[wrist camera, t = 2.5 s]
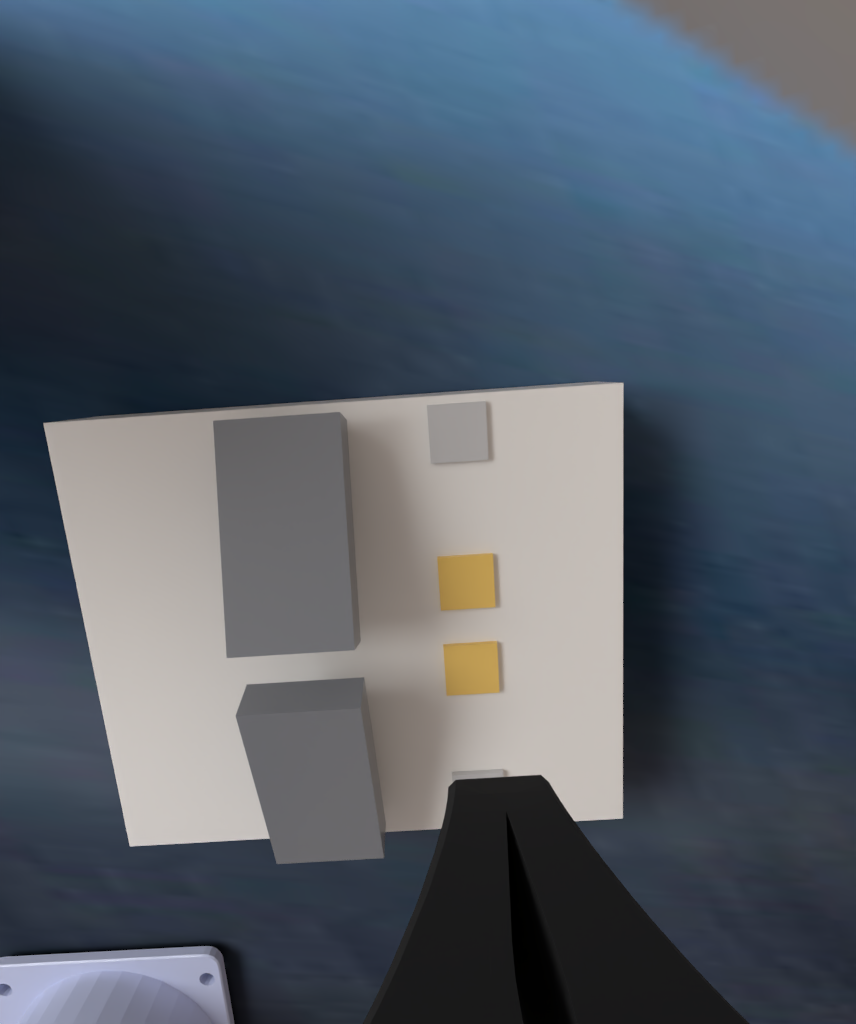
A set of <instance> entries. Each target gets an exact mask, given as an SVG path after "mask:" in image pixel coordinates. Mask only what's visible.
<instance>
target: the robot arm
mask: <svg viewBox="0 0 856 1024" xmlns="http://www.w3.org/2000/svg"><path fill="white" fill-rule="evenodd" d="M208 973H209V974H208ZM522 1021H523V1022H522ZM0 1023H1V1024H235V1023H234V1018H233V1012H232V1006H231V1000H230V994H229V989H228V983H227V977H226V971H225V966H224V960H223V956H222V954H221V952H220V951H219V950H218V949H217V948H215V947H213V946H194V947H176V948H157V949H138V950H119V951H101V952H82V953H63V954H45V955H26V956H7V957H1V958H0ZM363 1024H749V1023H748V1022H747V1021H746V1020H745V1019H744V1018H743V1017H742V1016H741V1015H740V1014H739V1013H738V1012H737V1011H736V1010H735V1009H734V1008H733V1007H732V1006H731V1005H730V1004H729V1003H728V1002H727V1001H726V1000H725V999H724V998H723V997H722V996H721V995H720V994H719V993H718V992H717V991H716V990H715V989H714V988H713V986H712V985H711V984H710V983H709V982H708V981H707V980H706V979H705V978H704V977H703V976H702V975H701V974H700V973H699V972H698V971H697V970H696V969H695V967H694V966H693V965H692V964H691V963H690V962H689V961H688V960H687V959H686V958H685V957H684V956H683V954H682V953H681V952H680V951H679V950H678V949H677V948H676V947H675V945H674V944H673V943H672V942H671V941H670V940H669V939H668V938H667V937H666V935H665V934H664V933H663V932H662V931H661V930H660V929H659V928H658V926H657V925H656V924H655V923H654V922H653V921H652V920H651V918H650V917H649V916H648V915H647V914H646V912H645V911H644V910H643V909H642V908H641V907H640V905H639V904H638V903H637V902H636V901H635V899H634V898H633V897H632V896H631V895H630V893H629V892H628V891H627V890H626V888H625V887H624V886H623V885H622V883H621V882H620V881H619V880H618V878H617V877H616V876H615V875H614V873H613V872H612V871H611V870H610V868H609V867H608V866H607V865H606V863H605V862H604V861H603V860H602V858H601V857H600V856H599V854H598V853H597V852H596V850H595V849H594V848H593V846H592V845H591V844H590V842H589V841H588V840H587V838H586V837H585V835H584V834H583V833H582V831H581V830H580V828H579V827H578V826H577V824H576V823H575V821H574V820H573V819H572V817H571V816H570V814H569V813H568V811H567V810H566V808H565V807H564V805H563V804H562V802H561V801H560V799H559V798H558V796H557V795H556V793H555V791H554V790H553V788H552V786H551V785H550V783H549V782H548V781H547V780H546V779H545V778H544V777H543V776H542V775H528V776H511V777H494V778H476V779H459V780H455V781H454V782H453V783H452V784H451V785H450V786H449V787H448V798H447V804H446V810H445V815H444V820H443V824H442V828H441V832H440V835H439V839H438V842H437V846H436V849H435V853H434V856H433V859H432V862H431V865H430V867H429V870H428V873H427V876H426V879H425V882H424V885H423V888H422V891H421V894H420V896H419V899H418V902H417V904H416V907H415V910H414V912H413V914H412V917H411V919H410V921H409V924H408V926H407V929H406V931H405V933H404V936H403V938H402V940H401V943H400V945H399V948H398V950H397V952H396V955H395V957H394V959H393V962H392V964H391V966H390V969H389V971H388V973H387V975H386V977H385V979H384V981H383V984H382V986H381V988H380V990H379V992H378V994H377V996H376V998H375V1000H374V1002H373V1004H372V1007H371V1009H370V1011H369V1013H368V1015H367V1017H366V1019H365V1020H364V1022H363Z"/></svg>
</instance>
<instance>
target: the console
mask: <svg viewBox="0 0 856 1024" xmlns="http://www.w3.org/2000/svg"><path fill="white" fill-rule="evenodd" d="M332 412H340V413H341V414H342V415H343V416H344V417H345V418H346V419H347V431H348V447H349V463H350V479H351V495H352V511H353V526H354V542H355V558H356V574H357V590H358V606H359V622H360V638H361V642H360V643H359V645H358V646H357V648H356V649H355V650H350V651H334V652H317V653H301V654H285V655H269V656H253V657H237V658H227V655H226V638H225V620H224V603H223V585H222V568H221V550H220V533H219V515H218V498H217V481H216V463H215V446H214V428H213V421H216V420H231V419H245V418H259V417H274V416H288V415H303V414H317V413H332ZM43 424H44V429H45V434H46V439H47V444H48V449H49V454H50V458H51V463H52V468H53V473H54V478H55V483H56V488H57V493H58V498H59V502H60V507H61V512H62V517H63V522H64V527H65V532H66V537H67V542H68V546H69V551H70V556H71V561H72V566H73V571H74V576H75V581H76V586H77V590H78V595H79V600H80V605H81V610H82V615H83V620H84V625H85V630H86V634H87V639H88V644H89V649H90V654H91V659H92V664H93V669H94V674H95V678H96V683H97V688H98V693H99V698H100V703H101V708H102V713H103V718H104V722H105V727H106V732H107V737H108V742H109V747H110V752H111V757H112V762H113V766H114V771H115V776H116V781H117V786H118V791H119V796H120V801H121V806H122V810H123V815H124V820H125V825H126V830H127V835H128V840H129V845H130V846H146V845H164V844H181V843H199V842H217V841H234V840H252V839H270V837H269V834H268V830H267V827H266V823H265V819H264V816H263V812H262V809H261V805H260V802H259V798H258V794H257V791H256V787H255V784H254V780H253V777H252V773H251V770H250V766H249V762H248V759H247V755H246V752H245V748H244V745H243V741H242V737H241V734H240V730H239V727H238V723H237V720H236V713H237V710H238V708H239V705H240V702H241V699H242V696H243V694H244V691H245V688H246V685H247V684H263V683H279V682H296V681H312V680H328V679H344V678H361V677H364V679H365V686H366V692H367V699H368V706H369V713H370V719H371V726H372V733H373V740H374V746H375V753H376V760H377V767H378V774H379V780H380V787H381V794H382V801H383V807H384V814H385V821H386V830H385V832H393V831H411V830H429V829H441V828H442V824H443V820H444V815H445V810H446V804H447V798H448V787H449V786H450V785H451V784H452V783H453V782H454V781H455V780H459V779H476V778H494V777H511V776H528V775H542V776H543V777H544V778H545V779H546V780H547V781H548V782H549V783H550V785H551V786H552V788H553V790H554V791H555V793H556V795H557V796H558V798H559V799H560V801H561V802H562V804H563V805H564V807H565V808H566V810H567V811H568V813H569V814H570V816H571V817H572V819H573V820H574V821H588V820H606V819H623V383H617V382H583V383H569V384H554V385H540V386H526V387H511V388H497V389H483V390H468V391H454V392H440V393H425V394H411V395H397V396H382V397H368V398H354V399H339V400H325V401H311V402H296V403H282V404H268V405H253V406H239V407H224V408H210V409H196V410H181V411H167V412H153V413H138V414H124V415H110V416H97V417H89V418H81V419H73V420H65V421H57V422H49V423H43Z"/></svg>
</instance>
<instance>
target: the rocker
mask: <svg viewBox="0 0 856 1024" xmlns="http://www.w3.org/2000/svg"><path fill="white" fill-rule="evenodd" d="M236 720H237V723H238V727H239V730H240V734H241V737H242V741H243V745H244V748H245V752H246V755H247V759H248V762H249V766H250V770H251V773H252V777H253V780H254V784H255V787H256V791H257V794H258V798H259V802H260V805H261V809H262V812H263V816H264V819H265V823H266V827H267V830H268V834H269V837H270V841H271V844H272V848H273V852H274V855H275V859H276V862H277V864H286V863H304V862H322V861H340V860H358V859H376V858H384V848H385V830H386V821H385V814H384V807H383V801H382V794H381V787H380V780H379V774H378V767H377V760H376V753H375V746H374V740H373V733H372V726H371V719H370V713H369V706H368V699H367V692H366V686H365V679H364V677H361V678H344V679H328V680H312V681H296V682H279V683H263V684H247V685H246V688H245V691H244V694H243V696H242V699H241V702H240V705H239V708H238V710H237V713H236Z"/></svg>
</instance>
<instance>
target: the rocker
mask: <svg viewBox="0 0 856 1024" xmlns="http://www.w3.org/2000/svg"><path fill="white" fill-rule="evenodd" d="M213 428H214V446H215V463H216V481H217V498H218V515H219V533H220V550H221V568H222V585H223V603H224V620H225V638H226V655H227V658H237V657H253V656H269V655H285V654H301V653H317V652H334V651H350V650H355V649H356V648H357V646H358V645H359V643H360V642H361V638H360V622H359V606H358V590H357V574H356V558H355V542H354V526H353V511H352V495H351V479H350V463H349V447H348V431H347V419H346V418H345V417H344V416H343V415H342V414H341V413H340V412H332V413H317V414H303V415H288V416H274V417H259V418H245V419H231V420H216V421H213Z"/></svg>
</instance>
